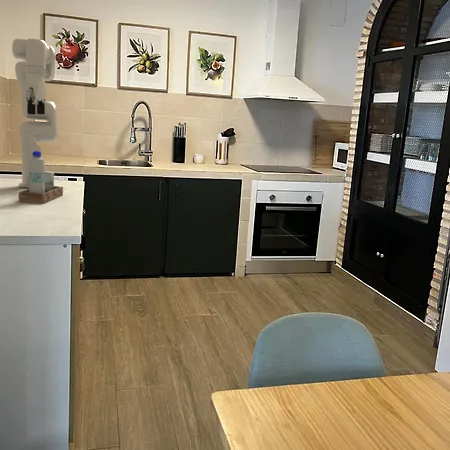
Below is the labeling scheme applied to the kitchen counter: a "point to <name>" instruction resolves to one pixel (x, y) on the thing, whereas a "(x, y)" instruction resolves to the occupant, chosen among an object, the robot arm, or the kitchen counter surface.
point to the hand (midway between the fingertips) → (36, 114)
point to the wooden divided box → (50, 193)
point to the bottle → (36, 173)
